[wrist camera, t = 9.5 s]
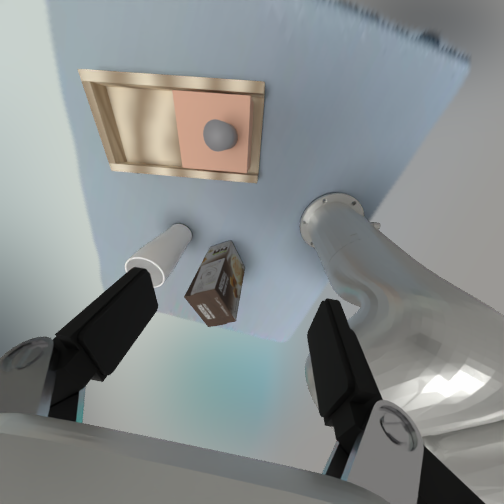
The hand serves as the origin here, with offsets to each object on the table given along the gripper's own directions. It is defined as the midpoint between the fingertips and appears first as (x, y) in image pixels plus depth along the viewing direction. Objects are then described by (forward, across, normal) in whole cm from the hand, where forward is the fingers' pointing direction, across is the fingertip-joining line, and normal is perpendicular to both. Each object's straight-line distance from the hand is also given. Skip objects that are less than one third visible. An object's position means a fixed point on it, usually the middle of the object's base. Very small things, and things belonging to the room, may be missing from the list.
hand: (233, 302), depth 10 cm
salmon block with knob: (+28, +8, -8) cm, 30 cm away
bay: (+29, +15, -7) cm, 33 cm away
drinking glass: (+29, +18, +13) cm, 37 cm away
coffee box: (+30, +7, +18) cm, 36 cm away
